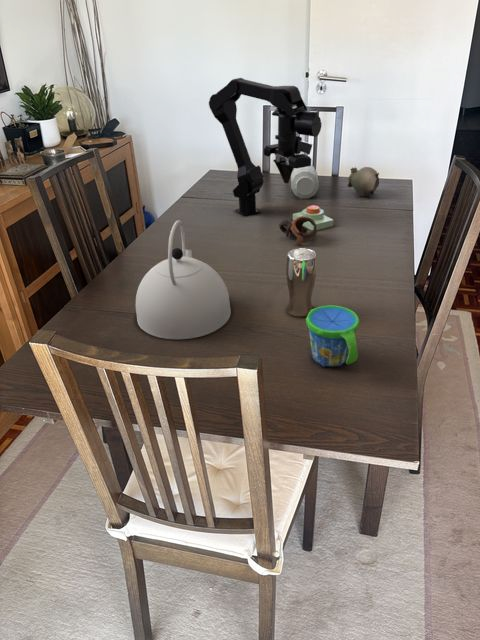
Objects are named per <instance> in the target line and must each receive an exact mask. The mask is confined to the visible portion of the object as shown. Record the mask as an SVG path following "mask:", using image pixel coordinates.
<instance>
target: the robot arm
mask: <svg viewBox="0 0 480 640" xmlns="http://www.w3.org/2000/svg"><path fill="white" fill-rule="evenodd" d="M241 96H246V97H251V98H254V99H258V100H263V101H266V102H267V103H269V104H270V105H271V106H273V107H275V108H276V109H275V110H273V112H272V113H271V115H272V116H273V117H274V116H275V117H277V134H276V135H275V136H274V139H275V140H277V143H274V144H268V145H265V147H264V148H263V156H265V157H269V158H270V157H271V155H273V154H274V156H275V159H273V162H274V164H275V165H276V168H277V170H278V172H279V174H280V177H281V179H282V181H283V183H284V184H289V182H290V181H291V174H292V171H293V169H294V168H302V167H307V166H311V165H312V158H311V157H310V156H309V155H310V154H311V152H312V149H313V143H310V142H307V141H305V140H303V138H302V136H307V137H315V138H316V137H318V136H319V135H320V133H321V129H322V125H323V124H322V120H321V117H320V116H319V111H318V110H317V111H316V110H314V111H311V110H308V108H307V105H306V102H305V101H304V100H303V97H302V95H301V91H300V90H299V88H298V87H297V86H295V85H270V84H267V83H262V82H258V81H252V80H248V79H246V78H243V77H238V78H232V79H231V80H230V81H229V82H228V83H227V84H226V85H225V86H224V87H222V88H221V89H220V90H218V91H217V92H216V93H214V94H212V95H210V98H209V101H208V108H209V109H210V111H211V113H212V115H213V117H214V118H215V119H216V120H217V121H218V122H219V123H220V124H221V126H222V128H223V131H224V134H225V137H226V139H227V142H228V145H229V147H230V150H231V152H232V155H233V158H234V161H235V163H236V166H237V176H236V178H237V179H236V180H237V183H238V184H237V185H236V187H235V188H233V189H232V194H233V197H234V198H238V208H235V212H237V213H238V214H240V215H242V216H243V217H246V216H251V215H255V214H259V213H261V212H260V210H258V209H257V205H256V204H257V201H256V194H258V193H260V191H261V188H262V187H263V186H264V183H265V181H264V178H265V175H264V174H263V172H262V168H261V166H260V165H258V164H257V165H255V164H254V163H253V162H252V159H251V157H250V154H249V151H248V148H247V146H246V143H245V142H246V141H245V140H244V137H243V134H242V131H241V129H240V125H239V123H238V120H237V114H238V113H237V111H238V107H237V103H236V102H237V101H238V100H239V99H240V98H241ZM300 135H301V136H300Z"/></svg>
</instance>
